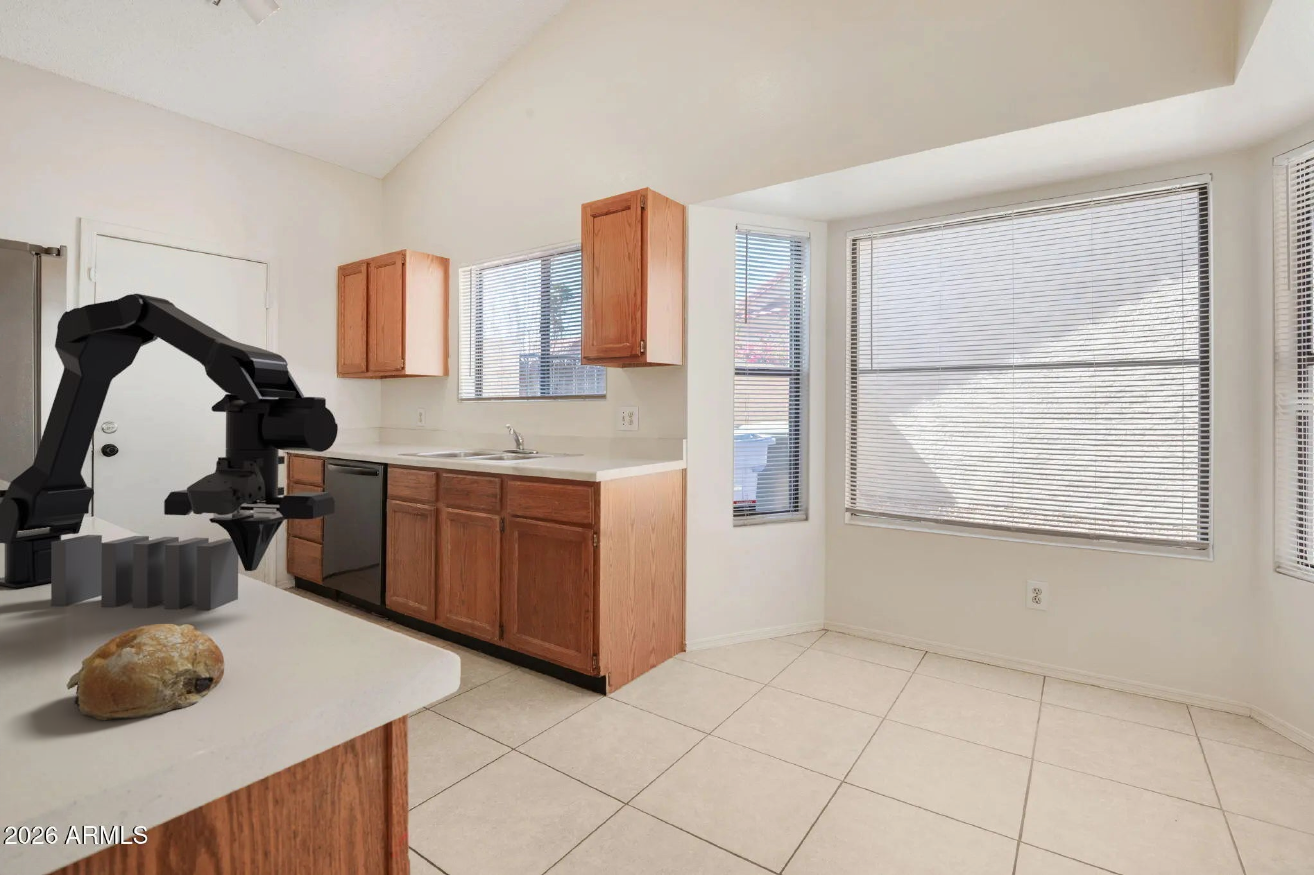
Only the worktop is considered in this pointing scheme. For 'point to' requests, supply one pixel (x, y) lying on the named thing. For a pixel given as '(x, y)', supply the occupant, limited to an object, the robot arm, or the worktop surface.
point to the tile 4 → (181, 572)
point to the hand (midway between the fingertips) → (250, 570)
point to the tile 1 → (76, 569)
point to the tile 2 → (118, 571)
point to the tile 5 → (216, 574)
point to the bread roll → (148, 672)
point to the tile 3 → (149, 572)
